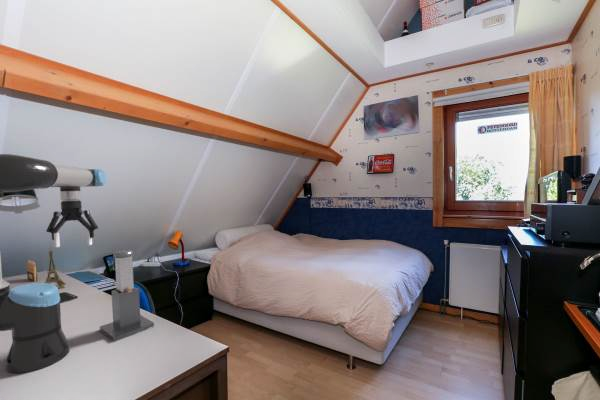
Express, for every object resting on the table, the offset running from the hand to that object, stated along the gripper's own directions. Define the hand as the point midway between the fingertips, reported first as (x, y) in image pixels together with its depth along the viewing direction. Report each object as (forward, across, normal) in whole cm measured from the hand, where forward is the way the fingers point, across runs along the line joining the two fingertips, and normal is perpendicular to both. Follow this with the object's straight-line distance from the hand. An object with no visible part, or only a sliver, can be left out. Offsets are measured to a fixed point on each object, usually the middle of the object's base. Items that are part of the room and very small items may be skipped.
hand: (73, 246), depth 139 cm
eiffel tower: (+27, +28, -32) cm, 50 cm away
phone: (+28, +12, -12) cm, 33 cm away
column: (+27, -33, +32) cm, 53 cm away
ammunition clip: (+26, +50, -52) cm, 76 cm away
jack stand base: (+29, -32, +32) cm, 54 cm away
